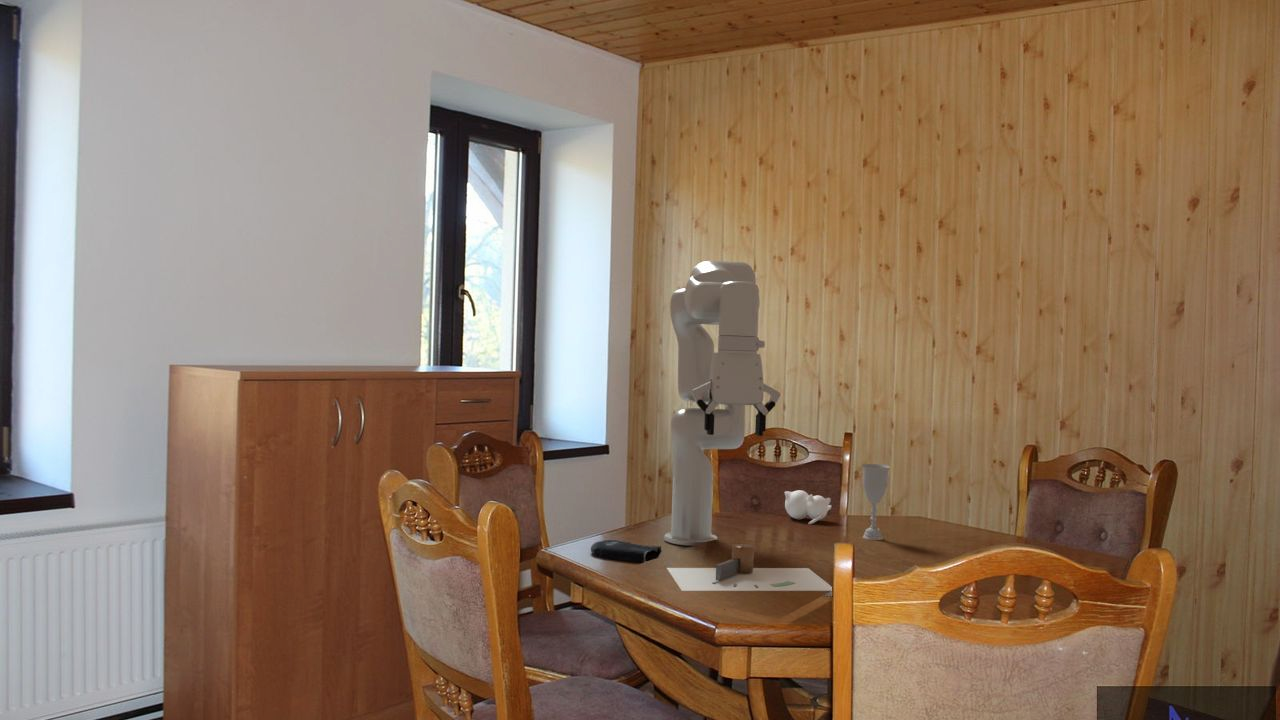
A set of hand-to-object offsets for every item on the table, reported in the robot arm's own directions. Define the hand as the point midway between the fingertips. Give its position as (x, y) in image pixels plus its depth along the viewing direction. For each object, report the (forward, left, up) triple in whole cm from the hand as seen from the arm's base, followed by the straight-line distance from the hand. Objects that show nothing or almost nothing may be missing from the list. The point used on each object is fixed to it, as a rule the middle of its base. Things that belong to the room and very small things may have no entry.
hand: (734, 434), depth 194 cm
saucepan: (-6, +2, -29) cm, 29 cm away
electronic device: (-29, -17, -31) cm, 46 cm away
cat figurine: (-73, +37, -30) cm, 87 cm away
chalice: (-50, +48, -30) cm, 76 cm away
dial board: (-4, +5, -30) cm, 31 cm away
